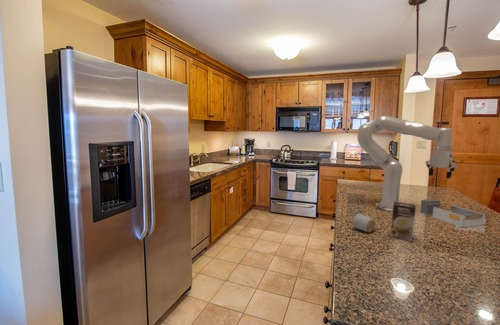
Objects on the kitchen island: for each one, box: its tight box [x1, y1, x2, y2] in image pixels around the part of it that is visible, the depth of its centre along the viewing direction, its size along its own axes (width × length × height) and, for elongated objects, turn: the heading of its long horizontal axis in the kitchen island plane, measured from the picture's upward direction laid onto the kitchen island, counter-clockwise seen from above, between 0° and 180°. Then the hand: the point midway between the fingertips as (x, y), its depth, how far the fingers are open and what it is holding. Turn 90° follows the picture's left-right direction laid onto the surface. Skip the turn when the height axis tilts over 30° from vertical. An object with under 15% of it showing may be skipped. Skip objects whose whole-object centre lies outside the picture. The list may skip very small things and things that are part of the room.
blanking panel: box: [419, 198, 441, 215], centre depth 160 cm, size 10×4×8 cm, turn 106°
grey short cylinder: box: [352, 213, 376, 233], centre depth 132 cm, size 11×8×8 cm
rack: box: [432, 205, 486, 228], centre depth 146 cm, size 16×16×6 cm
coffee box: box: [389, 201, 417, 242], centre depth 123 cm, size 9×6×16 cm
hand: (439, 176), depth 157 cm, fingers open, 9 cm apart
